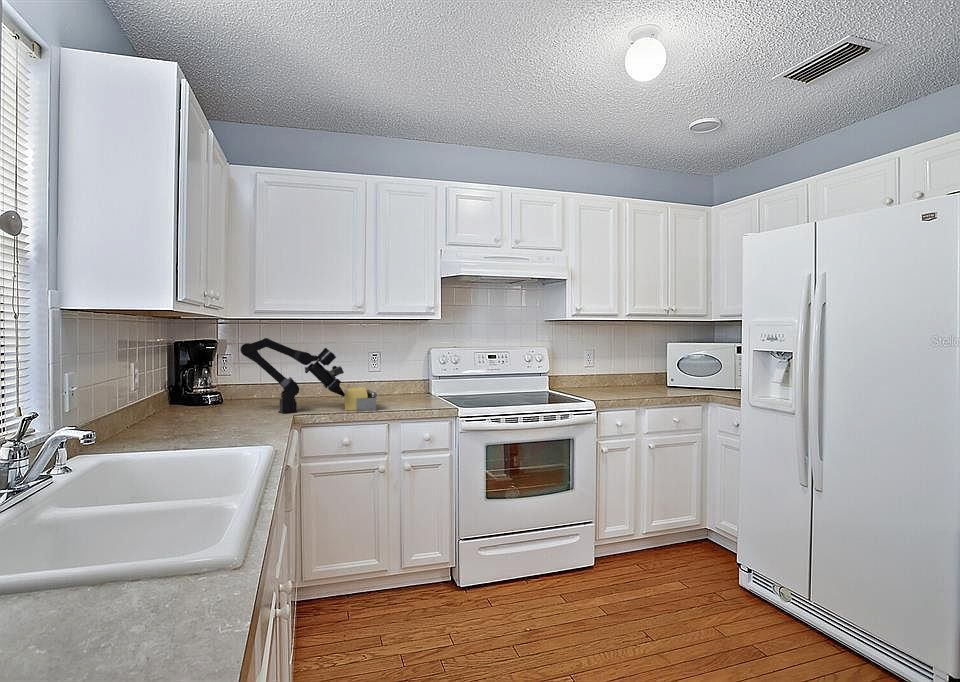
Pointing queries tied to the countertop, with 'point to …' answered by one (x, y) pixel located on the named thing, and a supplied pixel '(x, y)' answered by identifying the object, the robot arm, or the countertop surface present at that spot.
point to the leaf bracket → (367, 402)
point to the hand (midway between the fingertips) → (344, 395)
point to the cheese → (354, 397)
